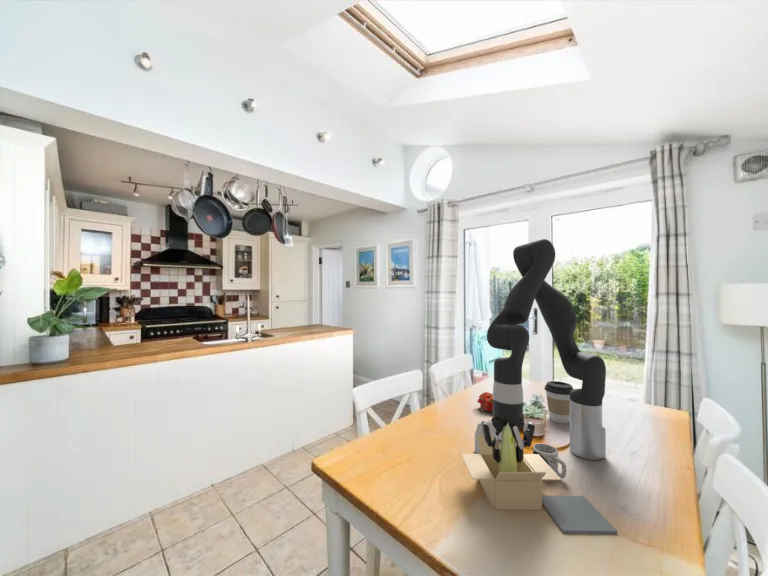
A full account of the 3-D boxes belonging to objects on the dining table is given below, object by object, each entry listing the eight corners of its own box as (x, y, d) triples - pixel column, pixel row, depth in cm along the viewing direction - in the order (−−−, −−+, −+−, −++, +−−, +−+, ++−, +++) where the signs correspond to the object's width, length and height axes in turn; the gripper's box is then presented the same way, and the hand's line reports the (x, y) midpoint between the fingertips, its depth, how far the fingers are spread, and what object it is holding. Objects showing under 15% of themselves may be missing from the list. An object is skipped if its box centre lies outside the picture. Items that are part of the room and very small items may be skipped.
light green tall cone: (523, 498, 82) (523, 423, 82) (506, 501, 81) (506, 425, 81) (510, 485, 87) (510, 414, 87) (493, 487, 86) (493, 416, 86)
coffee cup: (575, 418, 133) (575, 383, 133) (575, 428, 124) (574, 390, 124) (545, 412, 139) (545, 378, 140) (542, 421, 130) (542, 385, 130)
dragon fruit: (480, 408, 148) (498, 421, 138) (469, 400, 145) (487, 413, 134) (490, 393, 150) (509, 405, 139) (479, 385, 146) (498, 396, 135)
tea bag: (498, 453, 105) (498, 423, 105) (481, 457, 102) (481, 426, 102) (491, 448, 108) (491, 419, 108) (474, 451, 106) (474, 421, 106)
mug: (528, 467, 96) (528, 445, 96) (543, 462, 99) (543, 441, 99) (557, 486, 87) (557, 462, 87) (573, 480, 90) (573, 457, 90)
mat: (583, 498, 82) (583, 495, 82) (617, 533, 70) (617, 531, 70) (537, 497, 82) (537, 495, 82) (563, 533, 70) (563, 530, 70)
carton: (532, 472, 94) (532, 435, 94) (570, 519, 74) (570, 472, 74) (458, 471, 94) (458, 434, 94) (476, 517, 75) (476, 471, 75)
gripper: (528, 393, 88) (528, 454, 88) (476, 393, 88) (476, 453, 88) (541, 403, 80) (541, 469, 80) (485, 402, 81) (485, 468, 80)
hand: (507, 460), depth 84 cm, fingers open, 5 cm apart
